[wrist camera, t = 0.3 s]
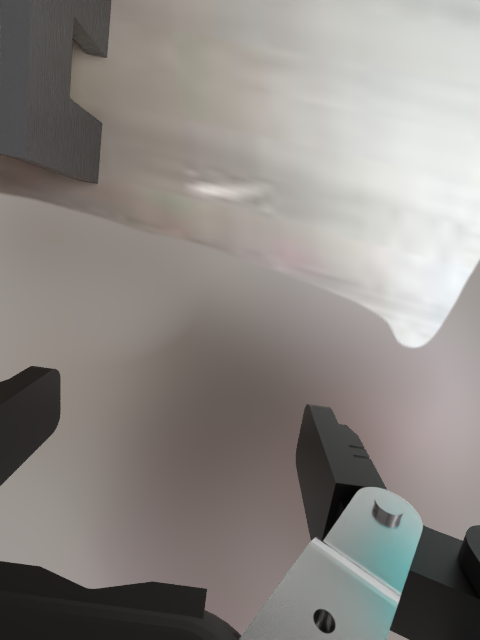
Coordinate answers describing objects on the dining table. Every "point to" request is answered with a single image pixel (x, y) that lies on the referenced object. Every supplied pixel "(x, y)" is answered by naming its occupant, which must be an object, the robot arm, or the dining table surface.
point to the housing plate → (49, 83)
